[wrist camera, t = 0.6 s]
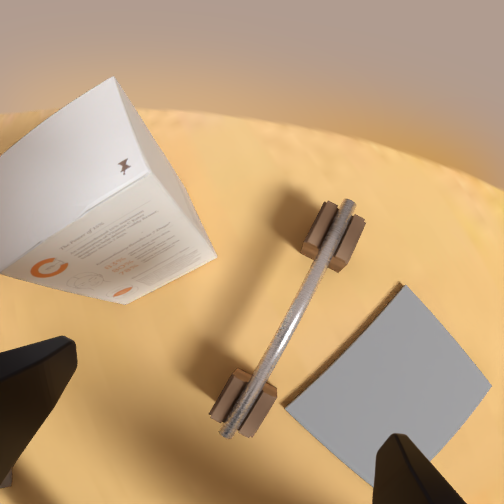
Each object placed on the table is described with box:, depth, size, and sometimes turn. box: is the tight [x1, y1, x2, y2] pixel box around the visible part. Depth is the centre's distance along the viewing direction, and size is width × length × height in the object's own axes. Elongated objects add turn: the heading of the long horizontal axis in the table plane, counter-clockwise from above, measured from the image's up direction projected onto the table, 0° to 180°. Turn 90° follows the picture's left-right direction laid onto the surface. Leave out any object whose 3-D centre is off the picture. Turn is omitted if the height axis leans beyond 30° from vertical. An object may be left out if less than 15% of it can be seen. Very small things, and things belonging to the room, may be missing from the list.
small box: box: [0, 76, 217, 305], centre depth 17 cm, size 8×6×13 cm
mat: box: [285, 285, 492, 487], centre depth 19 cm, size 12×12×1 cm
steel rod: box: [219, 199, 356, 439], centre depth 18 cm, size 16×1×1 cm, turn 151°
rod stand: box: [209, 201, 366, 438], centre depth 20 cm, size 15×3×3 cm, turn 151°
